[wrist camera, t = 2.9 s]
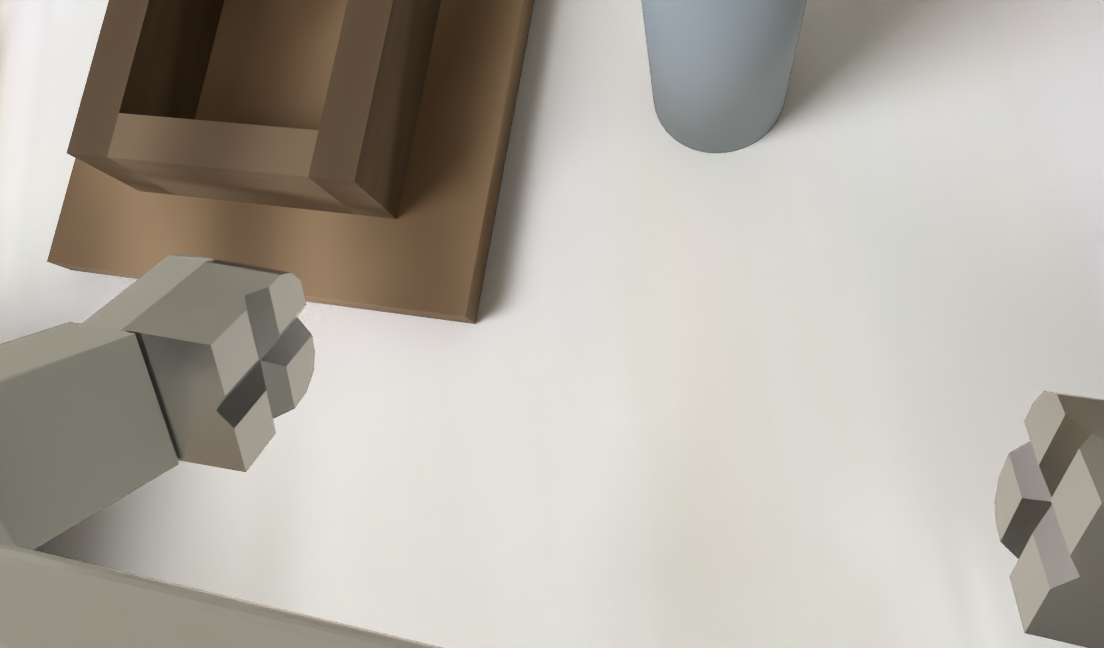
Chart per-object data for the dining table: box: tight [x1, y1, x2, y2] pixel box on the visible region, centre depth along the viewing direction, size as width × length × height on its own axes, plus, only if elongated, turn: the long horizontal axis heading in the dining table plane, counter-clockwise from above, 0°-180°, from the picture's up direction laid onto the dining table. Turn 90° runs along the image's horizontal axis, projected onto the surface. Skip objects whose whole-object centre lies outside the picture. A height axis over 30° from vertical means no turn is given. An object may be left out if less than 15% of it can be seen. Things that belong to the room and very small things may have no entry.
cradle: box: [47, 0, 534, 324], centre depth 28 cm, size 16×16×5 cm
